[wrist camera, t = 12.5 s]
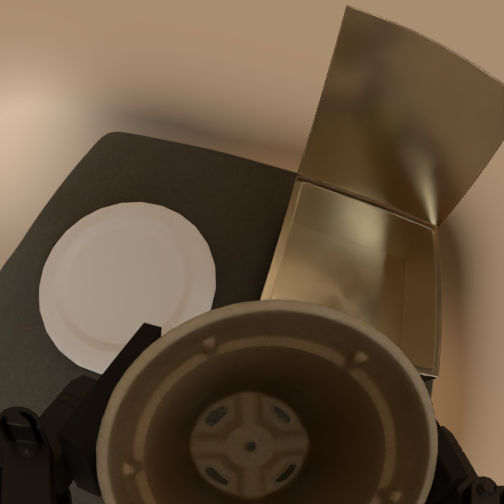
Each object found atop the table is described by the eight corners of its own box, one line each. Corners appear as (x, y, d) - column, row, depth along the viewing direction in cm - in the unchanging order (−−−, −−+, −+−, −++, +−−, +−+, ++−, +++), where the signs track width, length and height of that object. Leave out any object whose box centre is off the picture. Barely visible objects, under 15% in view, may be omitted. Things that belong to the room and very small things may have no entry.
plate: (18, 326, 26) (11, 321, 25) (98, 193, 37) (95, 184, 36) (174, 411, 25) (171, 411, 24) (241, 237, 36) (242, 229, 35)
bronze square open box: (395, 390, 28) (438, 377, 21) (241, 352, 29) (249, 331, 22) (405, 259, 37) (436, 226, 31) (283, 218, 38) (297, 175, 32)
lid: (526, 102, 15) (507, 83, 17) (346, 5, 16) (346, 1, 18) (439, 226, 30) (434, 199, 33) (297, 174, 31) (304, 150, 34)
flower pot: (196, 334, 16) (179, 251, 9) (355, 386, 15) (458, 346, 8) (133, 484, 11) (58, 531, 4) (305, 534, 10) (377, 603, 3)
